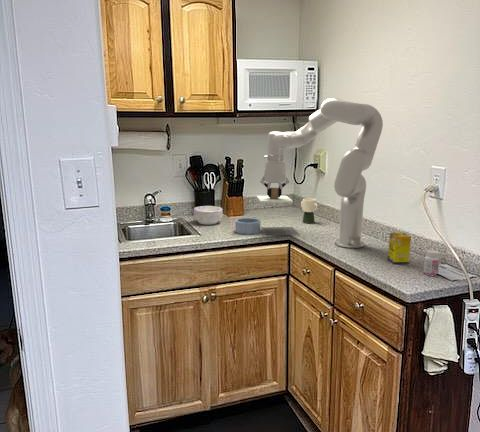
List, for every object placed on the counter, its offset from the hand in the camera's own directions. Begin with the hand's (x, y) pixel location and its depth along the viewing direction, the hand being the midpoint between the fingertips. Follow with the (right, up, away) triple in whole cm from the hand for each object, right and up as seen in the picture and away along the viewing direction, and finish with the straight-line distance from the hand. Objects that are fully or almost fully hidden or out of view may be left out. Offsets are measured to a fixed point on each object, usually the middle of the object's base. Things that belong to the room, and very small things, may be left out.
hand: (274, 196), depth 216 cm
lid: (0, -2, 0) cm, 2 cm away
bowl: (-13, -17, +2) cm, 22 cm away
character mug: (+20, -14, +24) cm, 34 cm away
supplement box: (+45, -27, -42) cm, 67 cm away
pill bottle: (+51, -30, -56) cm, 82 cm away
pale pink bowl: (-33, -13, +22) cm, 42 cm away
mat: (+3, -17, +4) cm, 18 cm away
